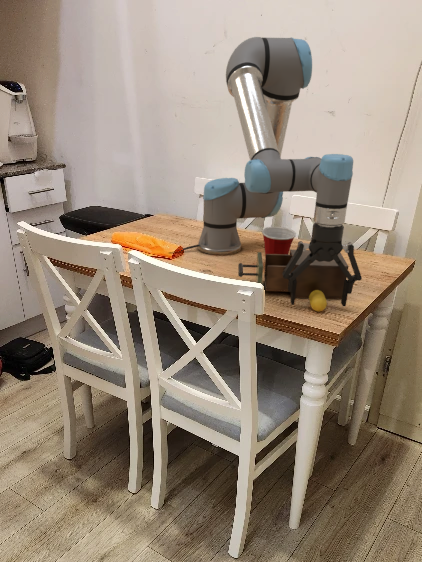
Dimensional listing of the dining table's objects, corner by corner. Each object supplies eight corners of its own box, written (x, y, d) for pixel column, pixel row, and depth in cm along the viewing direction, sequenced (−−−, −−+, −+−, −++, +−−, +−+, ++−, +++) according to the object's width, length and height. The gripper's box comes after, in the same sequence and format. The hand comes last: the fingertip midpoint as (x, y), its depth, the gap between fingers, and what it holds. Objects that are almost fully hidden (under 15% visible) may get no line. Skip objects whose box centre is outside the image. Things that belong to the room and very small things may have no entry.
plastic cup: (269, 275, 151) (272, 237, 145) (253, 264, 160) (255, 228, 153) (298, 271, 155) (303, 234, 149) (281, 261, 164) (285, 225, 157)
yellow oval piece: (310, 313, 128) (312, 299, 125) (307, 301, 134) (309, 287, 132) (326, 314, 127) (329, 299, 125) (322, 302, 134) (324, 288, 132)
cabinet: (291, 297, 137) (294, 264, 132) (286, 280, 148) (290, 249, 143) (343, 299, 136) (348, 266, 131) (334, 281, 148) (339, 250, 143)
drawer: (237, 292, 137) (238, 265, 133) (237, 276, 148) (238, 251, 144) (304, 294, 137) (308, 267, 133) (300, 278, 147) (302, 253, 143)
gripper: (279, 226, 116) (272, 307, 127) (383, 228, 115) (367, 310, 126) (276, 218, 123) (270, 297, 134) (376, 221, 122) (361, 299, 133)
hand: (317, 303), depth 130 cm, fingers open, 13 cm apart
